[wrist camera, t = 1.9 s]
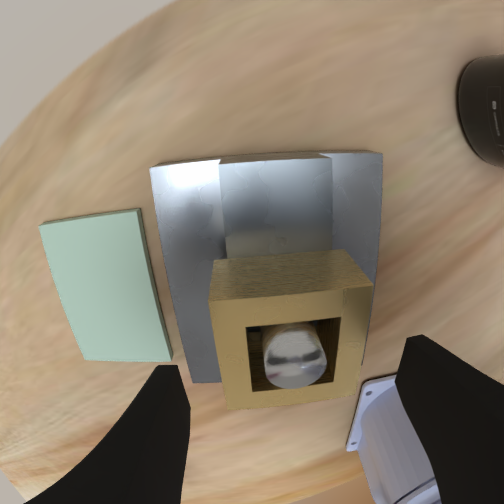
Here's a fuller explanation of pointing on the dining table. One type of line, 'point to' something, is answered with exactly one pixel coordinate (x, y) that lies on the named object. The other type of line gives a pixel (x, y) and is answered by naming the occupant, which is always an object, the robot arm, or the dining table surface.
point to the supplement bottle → (484, 107)
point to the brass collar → (288, 321)
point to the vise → (262, 239)
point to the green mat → (107, 286)
